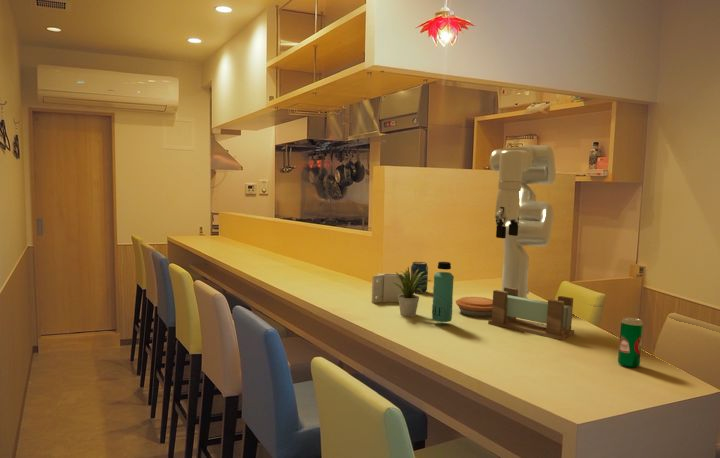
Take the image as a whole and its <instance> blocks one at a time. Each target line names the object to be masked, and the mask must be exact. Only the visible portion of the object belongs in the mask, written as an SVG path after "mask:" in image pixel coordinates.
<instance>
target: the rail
mask: <svg viewBox="0 0 720 458" xmlns="http://www.w3.org/2000/svg"><path fill="white" fill-rule="evenodd" d="M527 298H528V297H527ZM527 298H522V297H516V296H510V295H508V297H507V313H506V316H510V317H515V318H516V319H521V320H526V321H531V322H535V323H540V324H545V325H547V311H548V301H543V300H538V299H532V298H529V299H527ZM571 320H572V321H573V310H572V306H567V305H564V310H563V324H562V327H565V328H568V327H570V326H571V327H572V324H571Z"/></svg>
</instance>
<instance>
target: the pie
mask: <svg viewBox="0 0 720 458" xmlns="http://www.w3.org/2000/svg"><path fill="white" fill-rule="evenodd" d="M455 304H456V305H457V307H458V309H459V311H460V312H461V313H462V314H463V315H465V316H469V315H470V317H476V316H477V317H478V318H486V317H487V318H488V317H489V318H490V317H492V305H493V298H489V297H481V296H464V297H461V298H458V299H456V300H455Z"/></svg>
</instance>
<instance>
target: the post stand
mask: <svg viewBox="0 0 720 458" xmlns="http://www.w3.org/2000/svg"><path fill="white" fill-rule="evenodd" d="M508 295H510V296H516V297H518V289H516V288H510V287H505V288H504V291H501V290H500V289H494V290H493V291H492V300H493V305H492V316H491V319H489V320H488V325H491V326H497V327H501V328H505V329H509V330H516V331H520V332H522V333H523V332H524V333H528V334H533V335H537V336H542V337H547V338H551V339H557V340H561V341H562V340H565V339H566V338H569V337H570V336H573V335H575V331H576V330H573V329H572V325H573V324H572V321H573V319H572V320H571V326H570V327H568V328H565V327H562V324H563V310H564V305H567V306H572V311H573V308H574V307H573V306H574V297H568V296H563V295H559V296H557V299H552V298H551V299H548V300H547V302H548V311H547V324H545V323H540V322H535V321H530V320H525V319H520V318H515V317H510V316H506V313H507V297H508Z"/></svg>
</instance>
